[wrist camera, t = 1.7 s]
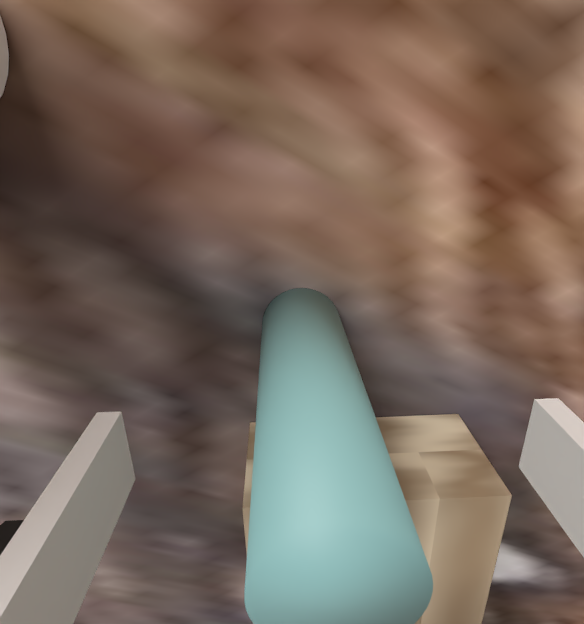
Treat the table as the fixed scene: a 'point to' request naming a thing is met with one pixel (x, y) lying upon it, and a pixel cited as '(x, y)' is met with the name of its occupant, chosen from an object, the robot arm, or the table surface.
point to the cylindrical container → (3, 58)
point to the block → (441, 508)
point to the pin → (324, 485)
